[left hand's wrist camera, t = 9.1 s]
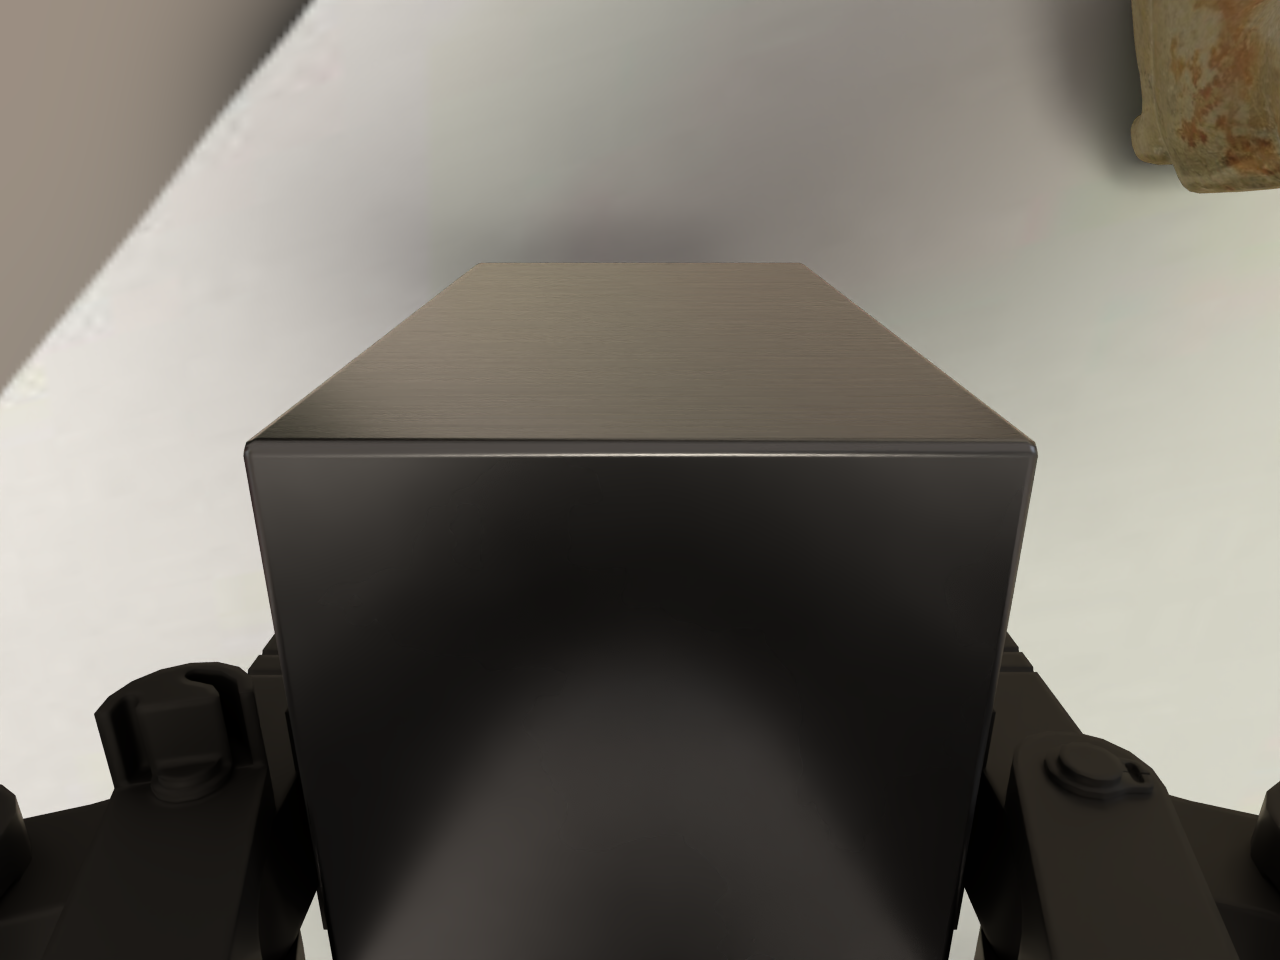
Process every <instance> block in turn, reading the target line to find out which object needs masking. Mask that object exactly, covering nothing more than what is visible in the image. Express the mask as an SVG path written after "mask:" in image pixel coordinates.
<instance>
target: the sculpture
mask: <svg viewBox="0 0 1280 960" xmlns="http://www.w3.org/2000/svg"><path fill="white" fill-rule="evenodd" d="M1131 5H1132V17H1133V29H1134V41H1135V49H1136V57H1137V64H1138V69H1139V73H1140V82H1141V91H1142V113H1141V115H1139V116H1137V117H1136V118H1135V120H1134V122H1133V124H1132V127H1131V140H1132V146H1133V149H1134V152H1135V154H1136V156H1137V157H1138V158H1139V159H1140V160H1142V161H1144V162H1147V163H1152V164H1157V165H1166V164H1173V165H1174V168H1175V170H1176V173H1177V176H1178V178H1179V180H1180V182H1181V183H1182V185H1183V186H1184V187H1185V188H1186V189H1188V190H1189V191H1191V192H1195V193H1220V192H1243V191H1255V190H1266V189H1277V188H1280V0H1131Z"/></svg>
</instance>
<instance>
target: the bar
mask: <svg viewBox="0 0 1280 960" xmlns="http://www.w3.org/2000/svg"><path fill="white" fill-rule="evenodd" d="M1037 458H1038V452H1037V448H1036V444H1035V442H1034V441H1033V440H1031V439H1030V438H1029V437H1028V436H1026V435H1025V434H1024V433H1022V432H1021V431H1020V430H1018V429H1017V428H1016V427H1015V426H1013V425H1012V424H1011V423H1009V422H1008V421H1007V420H1005V419H1004V418H1003V417H1001V416H1000V415H999V414H998V413H996V412H995V411H994V410H992V409H991V408H990V407H988V406H987V405H986V404H985V403H983V402H982V401H981V400H979V399H978V398H977V397H975V396H974V395H973V394H972V393H970V392H969V391H968V390H966V389H965V388H964V387H962V386H961V385H960V384H959V383H957V382H956V381H955V380H953V379H952V378H951V377H949V376H948V375H947V374H946V373H944V372H943V371H942V370H940V369H939V368H938V367H936V366H935V365H934V364H932V363H931V362H930V361H929V360H927V359H926V358H925V357H923V356H922V355H921V354H919V353H918V352H917V351H916V350H914V349H913V348H912V347H910V346H909V345H908V344H906V343H905V342H904V341H903V340H901V339H900V338H899V337H897V336H896V335H895V334H893V333H892V332H891V331H890V330H888V329H887V328H886V327H884V326H883V325H882V324H880V323H879V322H878V321H877V320H875V319H874V318H873V317H871V316H870V315H869V314H867V313H866V312H865V311H863V310H862V309H861V308H860V307H858V306H857V305H856V304H854V303H853V302H852V301H850V300H849V299H848V298H847V297H845V296H844V295H843V294H841V293H840V292H839V291H837V290H836V289H835V288H834V287H832V286H831V285H830V284H828V283H827V282H826V281H824V280H823V279H822V278H821V277H819V276H818V275H817V274H815V273H814V272H813V271H811V270H810V269H809V268H808V267H806V266H805V265H803V264H801V263H480V264H477V265H476V266H474V267H473V268H472V269H470V270H469V271H468V272H466V273H465V274H464V275H463V276H461V277H460V278H459V279H457V280H456V281H455V282H454V283H452V284H451V285H450V286H448V287H447V288H446V289H444V290H443V291H442V292H441V293H439V294H438V295H437V296H435V297H434V298H433V299H431V300H430V301H429V302H428V303H426V304H425V305H424V306H422V307H421V308H420V309H418V310H417V311H416V312H415V313H413V314H412V315H411V316H409V317H408V318H407V319H406V320H404V321H403V322H402V323H400V324H399V325H398V326H396V327H395V328H394V329H393V330H391V331H390V332H389V333H387V334H386V335H385V336H383V337H382V338H381V339H380V340H378V341H377V342H376V343H374V344H373V345H372V346H370V347H369V348H368V349H367V350H365V351H364V352H363V353H361V354H360V355H359V356H358V357H356V358H355V359H354V360H352V361H351V362H350V363H348V364H347V365H346V366H345V367H343V368H342V369H341V370H339V371H338V372H337V373H335V374H334V375H333V376H332V377H330V378H329V379H328V380H326V381H325V382H324V383H322V384H321V385H320V386H319V387H317V388H316V389H315V390H313V391H312V392H311V393H309V394H308V395H307V396H306V397H304V398H303V399H302V400H300V401H299V402H298V403H297V404H295V405H294V406H293V407H291V408H290V409H289V410H287V411H286V412H285V413H284V414H282V415H281V416H280V417H278V418H277V419H276V420H274V421H273V422H272V423H271V424H269V425H268V426H267V427H265V428H264V429H263V430H261V431H260V432H259V433H258V434H256V435H255V436H254V437H252V438H251V439H250V440H249V441H247V442H246V445H245V449H244V462H245V467H246V473H247V478H248V484H249V490H250V495H251V501H252V507H253V512H254V518H255V524H256V529H257V535H258V541H259V546H260V552H261V557H262V563H263V569H264V574H265V580H266V586H267V591H268V597H269V603H270V608H271V614H272V620H273V625H274V631H275V637H276V642H277V648H278V653H279V659H280V665H281V670H282V676H283V682H284V687H285V693H286V699H287V704H288V710H289V716H290V721H291V727H292V733H293V738H294V744H295V749H296V755H297V761H298V766H299V772H300V778H301V783H302V789H303V795H304V800H305V806H306V812H307V817H308V823H309V829H310V834H311V840H312V845H313V851H314V857H315V862H316V868H317V874H318V879H319V885H320V891H321V896H322V902H323V908H324V913H325V919H326V924H327V930H328V936H329V941H330V947H331V953H332V958H333V960H948V958H949V952H950V947H951V941H952V936H953V930H954V924H955V919H956V913H957V907H958V902H959V896H960V891H961V885H962V879H963V874H964V868H965V863H966V857H967V851H968V846H969V840H970V834H971V829H972V823H973V818H974V812H975V806H976V801H977V795H978V789H979V784H980V778H981V773H982V767H983V761H984V756H985V750H986V744H987V739H988V733H989V728H990V722H991V716H992V711H993V705H994V700H995V694H996V688H997V683H998V677H999V671H1000V666H1001V660H1002V655H1003V649H1004V643H1005V638H1006V632H1007V626H1008V621H1009V615H1010V610H1011V604H1012V598H1013V593H1014V587H1015V581H1016V576H1017V570H1018V565H1019V559H1020V553H1021V548H1022V542H1023V536H1024V531H1025V525H1026V520H1027V514H1028V508H1029V503H1030V497H1031V492H1032V486H1033V480H1034V475H1035V469H1036V463H1037Z"/></svg>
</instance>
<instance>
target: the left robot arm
mask: <svg viewBox="0 0 1280 960" xmlns="http://www.w3.org/2000/svg"><path fill="white" fill-rule="evenodd" d="M94 716H95V719H96V723H97V726H98V730H99V734H100V737H101V741H102V745H103V748H104V752H105V755H106V759H107V763H108V766H109V770H110V774H111V777H112V781H113V784H114V791H113V793H112V795H111V798H110V799H108V800H105V801H101V802H98V803H94V804H91V805H86V806H81V807H77V808H72V809H67V810H63V811H58V812H53V813H48V814H44V815H39V816H34V817H30V818H25V819H23V817H22V814H21V811H20V808H19V805H18V802H17V799H16V796H15V795H14V794H13V793H12V792H11V791H9V790H8V789H7V788H5V787H4V786H3V785H0V960H305V954H304V947H303V942H302V936H301V931H300V928H301V926H302V923H303V921H304V919H305V916H306V914H307V912H308V909H309V907H310V905H311V902H312V900H313V898H314V895H315V893H316V891H317V895H318V901H319V906H320V912H321V917H322V923H323V928H324V930H327V924H326V919H325V913H324V908H323V902H322V896H321V891H320V885H319V879H318V874H317V868H316V862H315V857H314V851H313V845H312V840H311V834H310V829H309V823H308V817H307V812H306V806H305V800H304V795H303V789H302V783H301V778H300V772H299V766H298V761H297V755H296V749H295V744H294V738H293V733H292V727H291V721H290V716H289V710H288V704H287V699H286V693H285V687H284V682H283V676H282V670H281V665H280V659H279V653H278V648H277V642H276V637H275V634H274V635H273V637H272V638H271V639H270V641H269V642H268V644H267V645H266V646H265V648H264V649H263V653H262V655H259V656H258V657H257V658H256V660H255V661H254V663H253V664H252V665H251V667H250V668H249V669H248V674H247V673H246V672H245V671H243V670H242V669H241V668H240V667H237V666H233V665H229V664H224V663H220V662H203V663H188V664H183V665H179V666H174V667H170V668H165V669H161V670H158V671H156V672H154V673H151V674H149V675H146V676H144V677H141V678H139V679H136V680H134V681H132V682H130V683H129V684H127V685H126V686H124V687H123V688H121V689H120V690H118V691H117V692H115V693H113V694H112V695H110V696H109V697H108V698H107V699H106V700H105V702H104V703H103V704H102V705H101V706H100V707H99V709H98V710H97V711H96V712H95V713H94ZM964 887H965V890H966V892H967V894H968V897H969V899H970V901H971V903H972V906H973V908H974V910H975V913H976V915H977V917H978V920H979V922H980V924H981V926H980V931H979V936H978V942H977V947H976V952H975V957H974V960H1280V781H1279V782H1278V783H1277V784H1276V785H1274V786H1273V787H1272V788H1271V789H1269V790H1268V791H1267V792H1266V795H1265V798H1264V801H1263V805H1262V808H1261V811H1260V814H1259V815H1254V814H1250V813H1245V812H1240V811H1236V810H1231V809H1226V808H1221V807H1217V806H1212V805H1207V804H1203V803H1198V802H1193V801H1189V800H1186V799H1182V798H1178V797H1175V796H1171V795H1169V794H1168V792H1167V789H1166V787H1165V786H1164V784H1163V783H1162V781H1161V780H1160V779H1159V777H1158V776H1157V775H1156V773H1155V772H1154V770H1153V769H1152V768H1151V767H1149V766H1148V765H1147V764H1146V763H1144V762H1143V761H1142V760H1140V759H1139V758H1138V757H1136V756H1135V755H1134V754H1132V753H1131V752H1129V751H1127V750H1125V749H1123V748H1121V747H1119V746H1117V745H1114V744H1112V743H1110V742H1108V741H1106V740H1104V739H1101V738H1097V737H1093V736H1089V735H1085V734H1083V733H1082V732H1081V731H1080V729H1079V728H1078V727H1077V725H1076V724H1075V723H1074V721H1073V720H1072V719H1071V717H1070V716H1069V715H1068V713H1067V712H1066V710H1065V709H1064V708H1063V706H1062V705H1061V704H1060V702H1059V701H1058V700H1057V698H1056V697H1055V696H1054V694H1053V693H1052V692H1051V690H1050V689H1049V688H1048V686H1047V685H1046V684H1045V682H1044V681H1043V680H1042V678H1041V677H1040V675H1039V674H1038V673H1037V672H1033V666H1032V665H1031V663H1030V662H1029V661H1028V659H1027V658H1026V657H1025V655H1024V654H1023V653H1022V652H1019V647H1018V646H1017V645H1016V643H1015V642H1014V640H1013V639H1012V638H1011V636H1010V635H1009V634H1008V632H1006V638H1005V643H1004V649H1003V655H1002V660H1001V666H1000V671H999V677H998V683H997V688H996V694H995V700H994V705H993V711H992V716H991V722H990V728H989V733H988V739H987V744H986V750H985V756H984V761H983V767H982V773H981V778H980V784H979V789H978V795H977V801H976V806H975V812H974V818H973V823H972V829H971V834H970V840H969V846H968V851H967V857H966V863H965V868H964V874H963V879H962V885H961V891H960V896H959V902H958V907H957V913H956V919H955V924H954V930H957V926H958V921H959V915H960V909H961V904H962V898H963V893H964Z"/></svg>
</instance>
